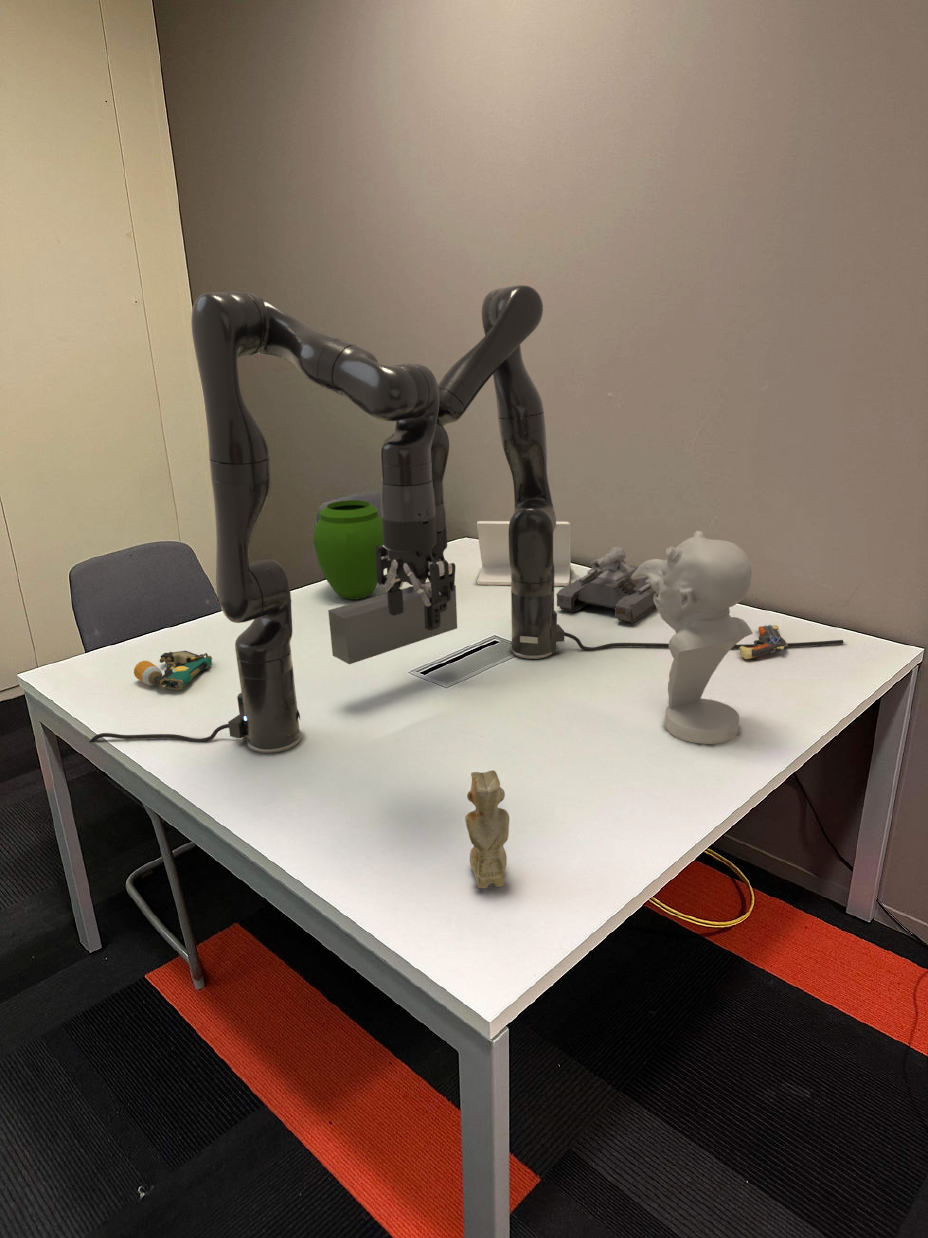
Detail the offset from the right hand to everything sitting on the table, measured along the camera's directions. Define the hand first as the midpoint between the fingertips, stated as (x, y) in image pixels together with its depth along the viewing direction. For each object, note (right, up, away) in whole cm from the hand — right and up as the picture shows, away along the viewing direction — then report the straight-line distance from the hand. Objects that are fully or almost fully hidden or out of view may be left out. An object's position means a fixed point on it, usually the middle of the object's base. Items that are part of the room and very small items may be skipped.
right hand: (431, 607), depth 170 cm
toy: (+45, +1, +44) cm, 63 cm away
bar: (-7, -7, -3) cm, 10 cm away
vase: (-22, +4, +57) cm, 61 cm away
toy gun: (+72, -8, +17) cm, 74 cm away
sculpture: (+10, -37, -55) cm, 67 cm away
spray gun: (-54, -15, +11) cm, 57 cm away
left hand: (-1, -3, -45) cm, 46 cm away
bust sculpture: (+46, -21, -15) cm, 53 cm away
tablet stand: (+24, +10, +69) cm, 73 cm away
